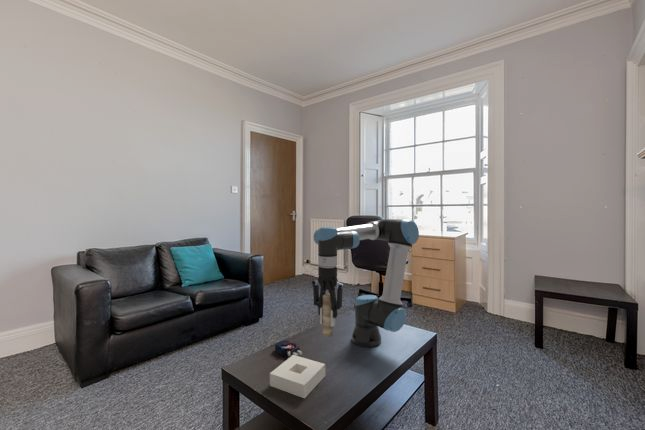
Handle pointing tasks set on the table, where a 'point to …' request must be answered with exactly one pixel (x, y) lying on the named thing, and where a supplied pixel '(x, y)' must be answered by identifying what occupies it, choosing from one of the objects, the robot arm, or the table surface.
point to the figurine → (287, 348)
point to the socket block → (297, 376)
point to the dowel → (327, 316)
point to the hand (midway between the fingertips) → (327, 324)
